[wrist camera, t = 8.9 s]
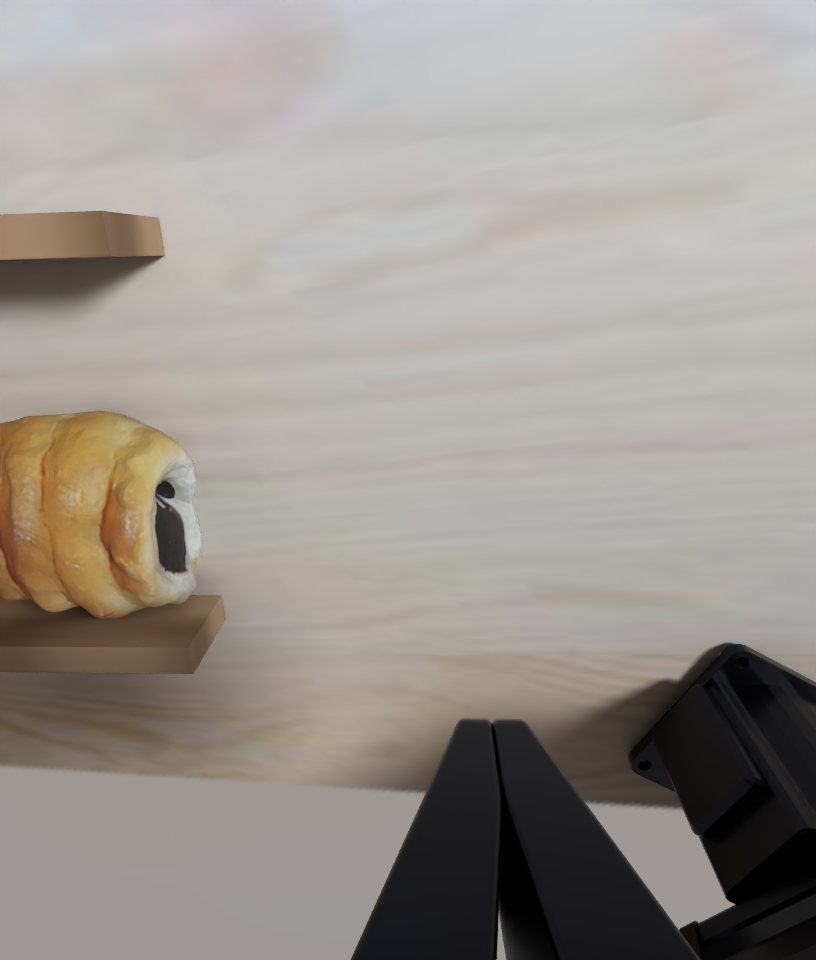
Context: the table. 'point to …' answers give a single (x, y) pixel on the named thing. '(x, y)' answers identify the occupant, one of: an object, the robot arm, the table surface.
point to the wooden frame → (75, 632)
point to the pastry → (96, 514)
